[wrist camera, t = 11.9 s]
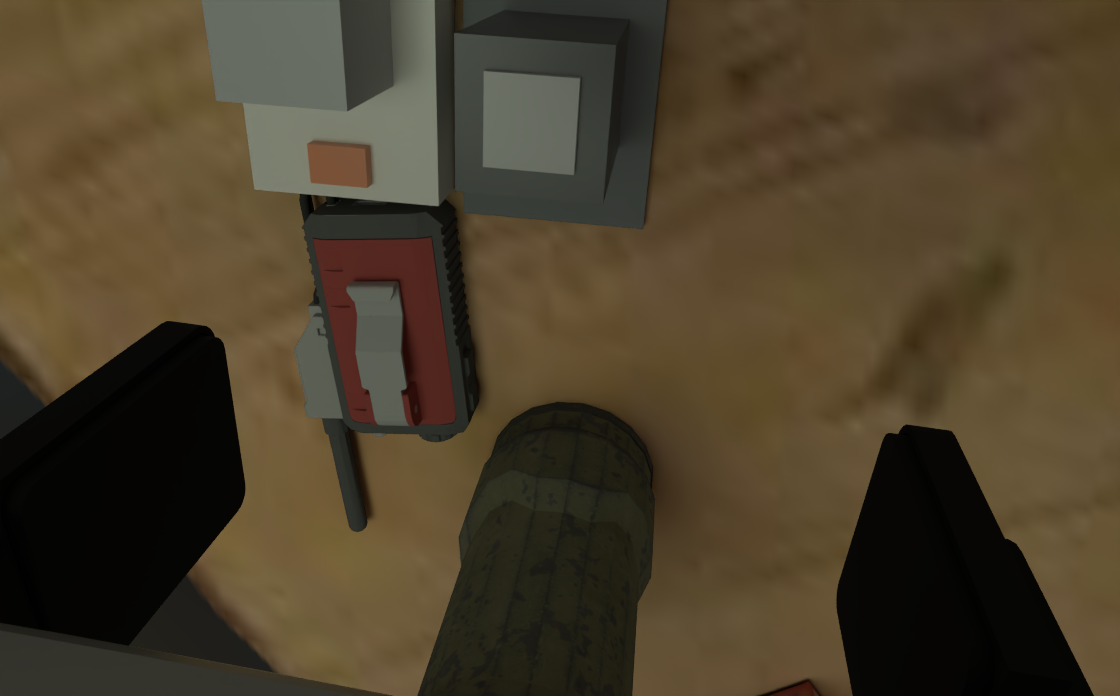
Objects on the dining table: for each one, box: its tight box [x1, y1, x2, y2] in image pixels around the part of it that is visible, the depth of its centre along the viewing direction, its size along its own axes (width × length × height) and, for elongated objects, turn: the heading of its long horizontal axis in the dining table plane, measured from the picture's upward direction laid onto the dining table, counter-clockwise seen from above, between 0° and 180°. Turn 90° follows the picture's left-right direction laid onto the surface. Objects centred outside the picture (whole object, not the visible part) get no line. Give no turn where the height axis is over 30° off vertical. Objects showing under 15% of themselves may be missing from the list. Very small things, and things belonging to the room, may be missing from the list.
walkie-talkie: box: [294, 194, 479, 532], centre depth 39 cm, size 9×4×20 cm
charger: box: [454, 10, 630, 205], centre depth 29 cm, size 5×5×8 cm
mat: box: [463, 0, 667, 229], centre depth 33 cm, size 8×12×1 cm, turn 177°
